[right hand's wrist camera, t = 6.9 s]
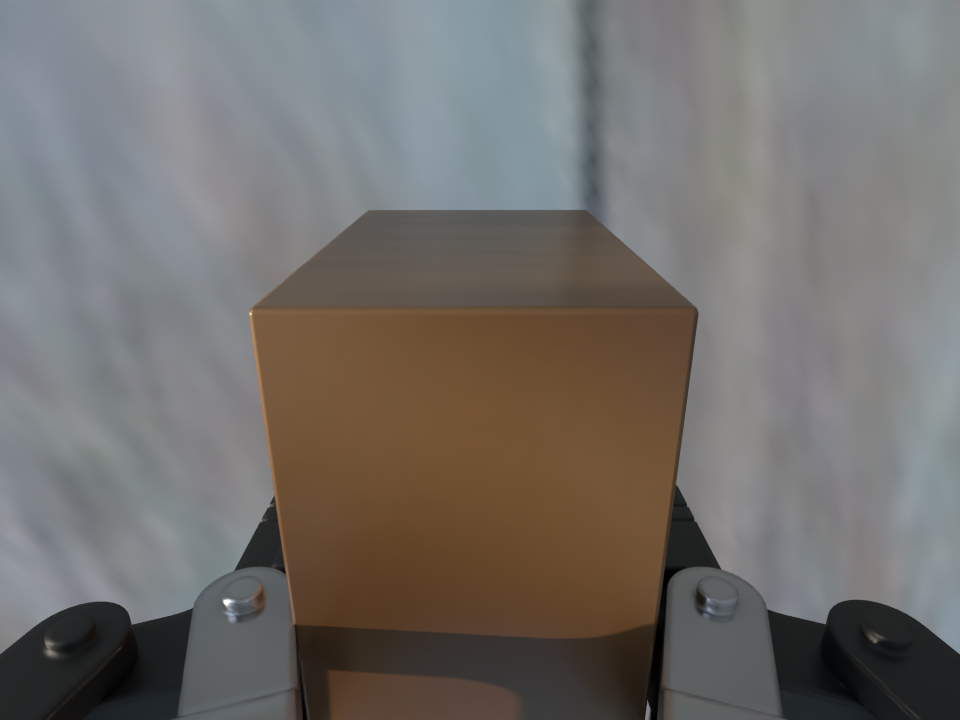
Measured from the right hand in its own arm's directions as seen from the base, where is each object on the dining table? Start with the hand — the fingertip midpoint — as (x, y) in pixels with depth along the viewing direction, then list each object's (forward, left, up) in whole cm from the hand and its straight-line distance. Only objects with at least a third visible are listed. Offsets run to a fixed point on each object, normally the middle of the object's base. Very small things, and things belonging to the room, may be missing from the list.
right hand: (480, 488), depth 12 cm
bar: (+27, +19, -2) cm, 33 cm away
